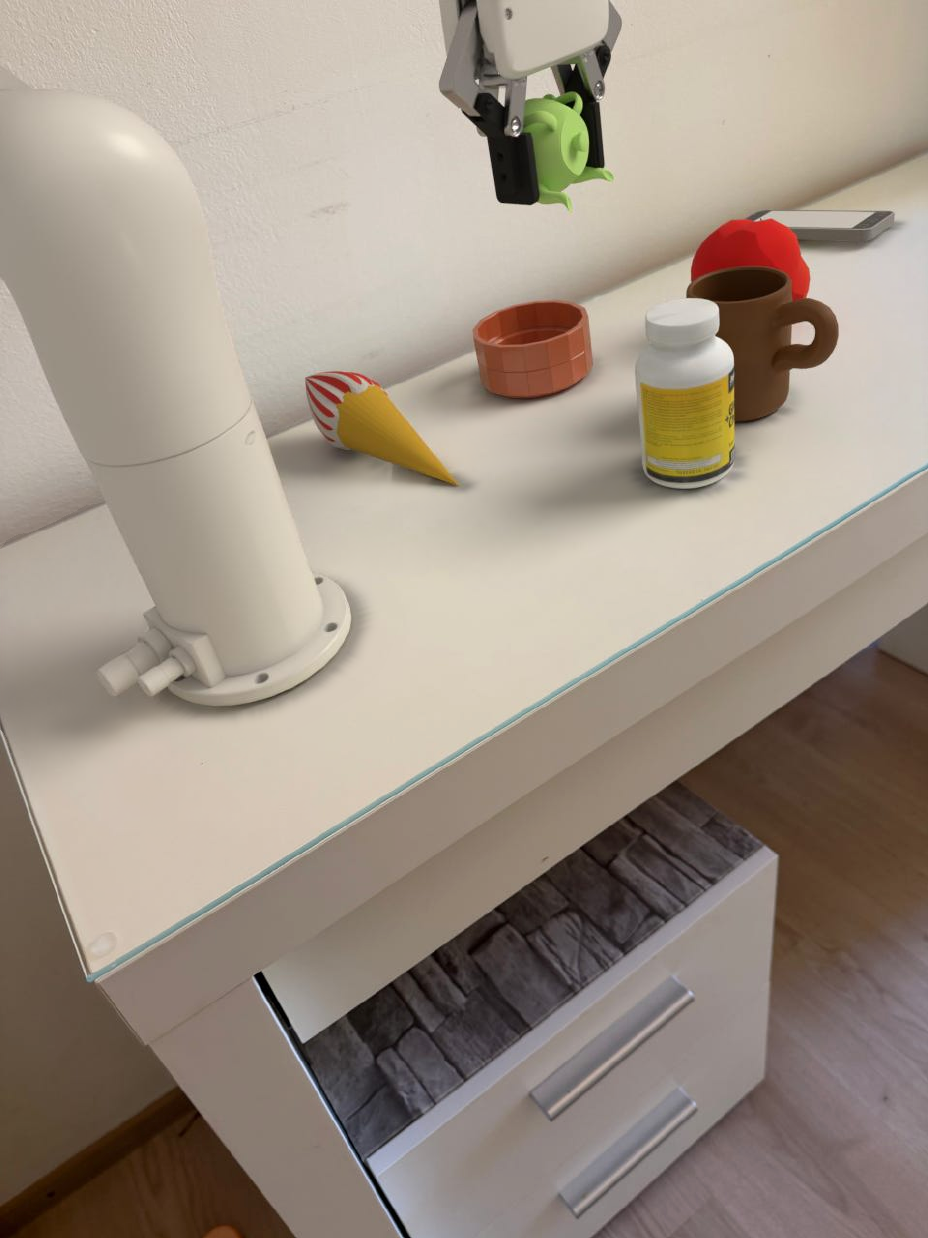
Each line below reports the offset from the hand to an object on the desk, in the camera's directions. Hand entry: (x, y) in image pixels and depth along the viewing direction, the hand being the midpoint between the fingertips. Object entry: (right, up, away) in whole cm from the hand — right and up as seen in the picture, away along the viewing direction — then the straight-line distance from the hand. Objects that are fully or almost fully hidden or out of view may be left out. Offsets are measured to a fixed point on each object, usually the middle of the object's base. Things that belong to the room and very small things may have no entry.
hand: (551, 182), depth 60 cm
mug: (+17, -12, +12) cm, 24 cm away
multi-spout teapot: (0, -1, +1) cm, 1 cm away
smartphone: (+37, +12, +35) cm, 52 cm away
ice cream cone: (-13, -15, +18) cm, 26 cm away
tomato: (+17, -1, +20) cm, 27 cm away
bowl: (+1, -6, +24) cm, 25 cm away
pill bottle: (+11, -17, +7) cm, 22 cm away
